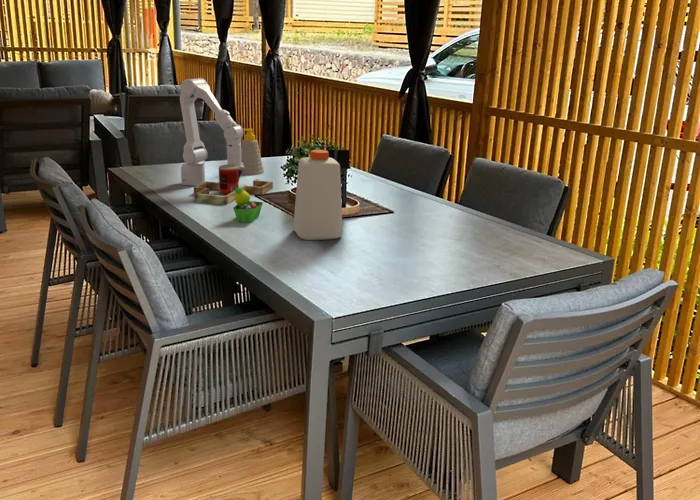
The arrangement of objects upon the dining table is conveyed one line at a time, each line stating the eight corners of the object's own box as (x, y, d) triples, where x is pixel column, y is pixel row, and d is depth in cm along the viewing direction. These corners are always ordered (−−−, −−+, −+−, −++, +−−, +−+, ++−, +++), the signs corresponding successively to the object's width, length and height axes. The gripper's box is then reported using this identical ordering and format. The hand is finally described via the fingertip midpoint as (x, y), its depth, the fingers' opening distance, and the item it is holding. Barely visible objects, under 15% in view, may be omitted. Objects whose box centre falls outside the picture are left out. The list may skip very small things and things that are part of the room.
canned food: (240, 191, 275) (240, 164, 271) (235, 195, 267) (235, 169, 264) (222, 190, 275) (221, 164, 272) (217, 194, 268) (216, 168, 264)
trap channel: (182, 200, 258) (182, 192, 257) (218, 182, 289) (218, 175, 288) (244, 206, 252) (244, 198, 251) (274, 187, 284) (274, 180, 283)
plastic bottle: (299, 241, 214) (301, 155, 205) (291, 228, 227) (291, 147, 218) (345, 239, 218) (348, 155, 209) (333, 226, 231) (336, 146, 222)
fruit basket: (253, 224, 231) (252, 192, 227) (229, 221, 232) (228, 190, 229) (263, 215, 241) (263, 185, 238) (240, 213, 243) (240, 183, 239)
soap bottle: (234, 170, 314) (233, 127, 308) (259, 169, 319) (259, 126, 313) (241, 175, 303) (240, 131, 297) (267, 174, 308) (267, 130, 302)
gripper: (236, 158, 265) (237, 191, 269) (249, 152, 278) (250, 184, 283) (220, 157, 266) (221, 190, 271) (234, 151, 280) (234, 183, 284)
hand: (234, 187), depth 277 cm, fingers closed
